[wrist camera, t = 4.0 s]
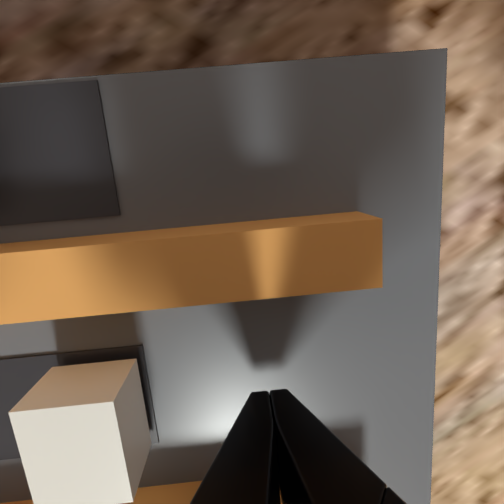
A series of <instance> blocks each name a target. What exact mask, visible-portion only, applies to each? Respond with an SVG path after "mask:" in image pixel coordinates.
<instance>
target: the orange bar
mask: <svg viewBox="0 0 504 504" xmlns="http://www.w3.org/2000/svg"><path fill="white" fill-rule="evenodd" d="M372 288H383V270H382V218H379V217H375V216H372V215H368V214H365V213H362V212H358V211H355V212H344V213H333V214H322V215H311V216H300V217H289V218H278V219H267V220H256V221H245V222H234V223H223V224H212V225H201V226H190V227H179V228H168V229H157V230H146V231H135V232H124V233H113V234H102V235H91V236H80V237H69V238H58V239H47V240H36V241H25V242H14V243H3V244H0V325H3V324H13V323H23V322H34V321H44V320H54V319H64V318H75V317H85V316H95V315H105V314H116V313H126V312H136V311H147V310H157V309H167V308H177V307H188V306H198V305H208V304H218V303H229V302H239V301H249V300H260V299H270V298H280V297H290V296H301V295H311V294H321V293H331V292H342V291H352V290H362V289H372Z"/></svg>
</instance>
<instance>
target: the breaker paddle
mask: <svg viewBox="0 0 504 504" xmlns="http://www.w3.org/2000/svg"><path fill="white" fill-rule="evenodd" d="M8 413H9V417H10V421H11V424H12V428H13V431H14V435H15V439H16V442H17V446H18V449H19V453H20V456H21V460H22V464H23V467H24V471H25V474H26V478H27V482H28V485H29V489H30V492H31V496H32V500H33V503H34V504H122V503H131V502H133V501H134V498H135V495H136V492H137V489H138V485H139V482H140V479H141V476H142V473H143V469H144V466H145V463H146V460H147V457H148V454H149V450H150V447H151V444H152V443H151V438H150V432H149V426H148V421H147V415H146V409H145V404H144V398H143V392H142V387H141V381H140V375H139V370H138V364H137V359H127V360H117V361H107V362H97V363H87V364H77V365H67V366H57V367H51V369H50V370H49V371H48V372H47V373H46V374H45V375H44V376H43V377H42V378H41V379H40V380H39V381H38V382H37V383H36V384H35V385H34V386H33V387H32V388H31V389H30V390H29V391H28V392H27V394H26V395H25V396H24V397H23V398H22V399H21V400H20V401H19V402H18V403H17V404H16V405H15V406H14V407H13V408H12V409H11V410H10V411H9V412H8Z"/></svg>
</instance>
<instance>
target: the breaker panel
mask: <svg viewBox="0 0 504 504" xmlns="http://www.w3.org/2000/svg"><path fill="white" fill-rule="evenodd" d="M446 70H447V48H443V49H430V50H418V51H405V52H392V53H379V54H366V55H354V56H341V57H328V58H315V59H302V60H290V61H277V62H264V63H251V64H238V65H226V66H213V67H200V68H187V69H174V70H162V71H149V72H136V73H123V74H110V75H98V76H85V77H72V78H59V79H46V80H34V81H21V82H8V83H0V244H3V243H14V242H25V241H36V240H47V239H58V238H69V237H80V236H91V235H102V234H113V233H124V232H135V231H146V230H157V229H168V228H179V227H190V226H201V225H212V224H223V223H234V222H245V221H256V220H267V219H278V218H289V217H300V216H311V215H322V214H333V213H344V212H355V211H358V212H362V213H365V214H368V215H372V216H375V217H379V218H382V270H383V288H372V289H362V290H352V291H342V292H331V293H321V294H311V295H301V296H290V297H280V298H270V299H260V300H249V301H239V302H229V303H218V304H208V305H198V306H188V307H177V308H167V309H157V310H147V311H136V312H126V313H116V314H105V315H95V316H85V317H75V318H64V319H54V320H44V321H34V322H23V323H13V324H3V325H0V503H6V502H15V501H24V500H32V496H31V492H30V489H29V485H28V482H27V478H26V474H25V471H24V467H23V464H22V460H21V456H20V453H19V449H18V446H17V442H16V439H15V435H14V431H13V428H12V424H11V421H10V417H9V413H8V412H9V411H10V410H11V409H12V408H13V407H14V406H15V405H16V404H17V403H18V402H19V401H20V400H21V399H22V398H23V397H24V396H25V395H26V394H27V392H28V391H29V390H30V389H31V388H32V387H33V386H34V385H35V384H36V383H37V382H38V381H39V380H40V379H41V378H42V377H43V376H44V375H45V374H46V373H47V372H48V371H49V370H50V369H51V367H57V366H67V365H77V364H87V363H97V362H107V361H117V360H127V359H137V364H138V370H139V375H140V381H141V387H142V392H143V398H144V404H145V409H146V415H147V421H148V426H149V432H150V438H151V443H152V444H151V447H150V450H149V454H148V457H147V460H146V463H145V466H144V469H143V473H142V476H141V479H140V482H139V485H138V488H141V487H150V486H159V485H168V484H177V483H185V482H194V481H202V480H203V478H204V477H205V475H206V473H207V471H208V469H209V468H210V466H211V464H212V462H213V460H214V459H215V457H216V455H217V453H218V451H219V449H220V448H221V446H222V444H223V442H224V440H225V439H226V437H227V435H228V433H229V431H230V430H231V428H232V426H233V424H234V422H235V420H236V419H237V417H238V415H239V413H240V411H241V410H242V408H243V406H244V404H245V402H246V401H247V399H248V397H249V395H250V393H252V392H257V391H268V392H270V391H271V390H276V389H288V390H289V391H290V392H291V393H292V394H293V395H294V396H295V397H296V398H297V399H298V400H299V401H300V402H301V403H302V404H303V405H304V406H305V407H306V408H307V409H309V410H310V411H311V412H312V413H313V414H314V415H315V416H316V417H317V418H318V419H319V420H320V421H321V422H322V423H323V424H324V425H325V426H326V427H327V428H328V429H329V430H330V431H331V432H332V433H334V434H335V435H336V436H337V437H338V438H339V439H340V440H341V441H342V442H343V443H344V444H345V445H346V446H347V447H348V448H349V449H350V450H351V451H352V452H353V453H354V454H355V455H356V456H357V457H359V458H360V459H361V460H362V461H363V462H364V463H365V464H366V465H367V466H368V467H369V468H370V469H371V470H372V471H373V472H374V473H375V474H376V475H377V476H378V477H379V478H380V479H381V480H382V481H383V482H385V483H386V485H387V487H390V488H391V489H392V490H393V491H394V492H395V493H396V494H397V495H398V496H399V497H400V498H401V499H402V500H404V501H405V502H406V503H407V504H430V499H431V473H432V446H433V419H434V392H435V365H436V338H437V311H438V285H439V258H440V231H441V204H442V177H443V150H444V123H445V97H446Z"/></svg>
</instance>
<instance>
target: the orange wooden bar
mask: <svg viewBox="0 0 504 504" xmlns="http://www.w3.org/2000/svg"><path fill="white" fill-rule="evenodd" d="M201 482H202V481H194V482H185V483H177V484H168V485H159V486H150V487H141V488H138V489H137V492H136V495H135V498H134V501H133V502H131V503H122V504H190V502H191V500H192V498H193V497H194V495H195V493H196V491H197V489H198V488H199V486H200V484H201ZM280 499H281V494H280ZM0 504H34V503H33V500H24V501H15V502H6V503H0ZM281 504H282V500H281Z"/></svg>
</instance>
